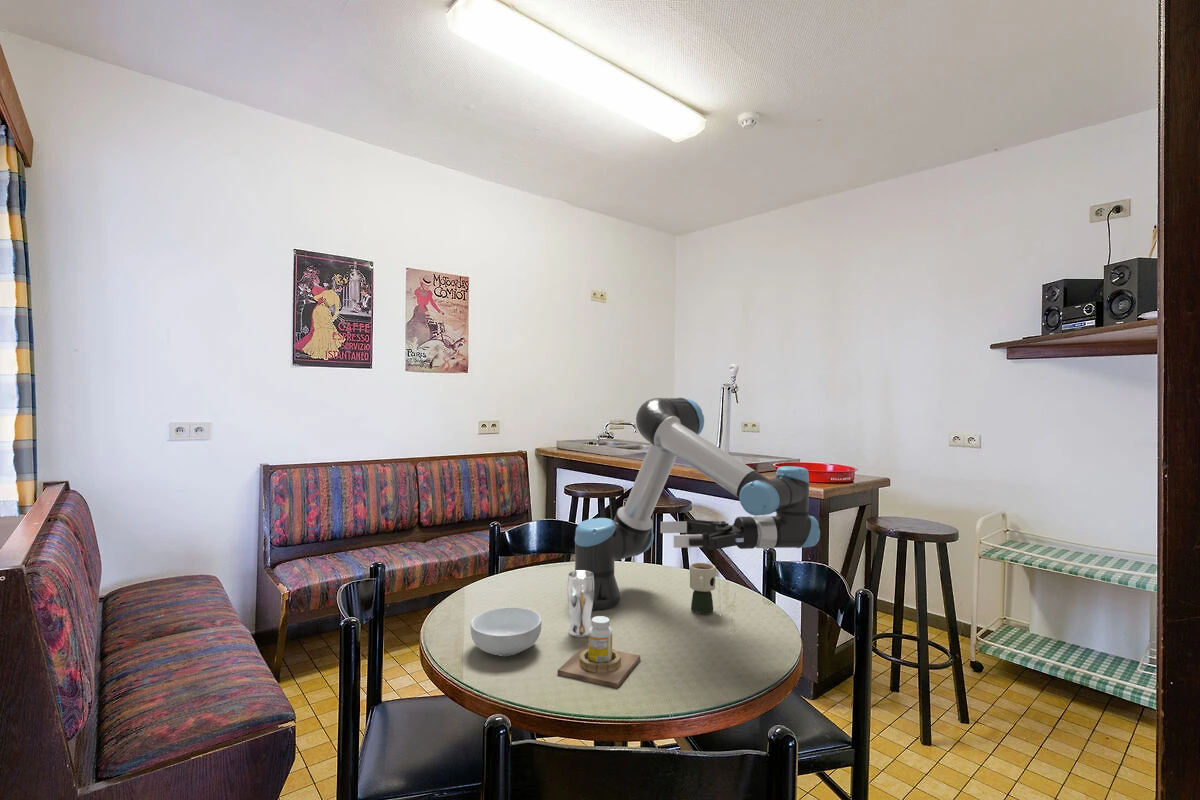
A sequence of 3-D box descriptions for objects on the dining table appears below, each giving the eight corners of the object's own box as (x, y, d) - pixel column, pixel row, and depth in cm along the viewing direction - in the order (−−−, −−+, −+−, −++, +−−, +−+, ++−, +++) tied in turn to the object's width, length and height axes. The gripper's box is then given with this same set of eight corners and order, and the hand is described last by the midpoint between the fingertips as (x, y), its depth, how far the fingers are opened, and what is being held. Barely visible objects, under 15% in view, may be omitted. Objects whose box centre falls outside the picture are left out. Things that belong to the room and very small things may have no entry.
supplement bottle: (601, 670, 124) (601, 626, 124) (583, 662, 127) (583, 619, 127) (616, 661, 128) (617, 618, 128) (598, 654, 131) (599, 612, 131)
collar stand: (557, 674, 124) (557, 663, 124) (584, 648, 137) (585, 638, 137) (617, 688, 118) (617, 676, 118) (640, 659, 131) (640, 649, 131)
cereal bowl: (464, 640, 141) (464, 612, 141) (529, 630, 147) (530, 602, 147) (478, 671, 125) (478, 639, 125) (550, 658, 132) (550, 627, 131)
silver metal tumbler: (573, 640, 141) (574, 579, 141) (562, 629, 147) (563, 572, 147) (598, 635, 144) (599, 575, 144) (586, 625, 151) (587, 568, 150)
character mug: (714, 620, 154) (714, 572, 154) (687, 617, 156) (688, 570, 156) (715, 606, 165) (716, 561, 165) (691, 603, 167) (691, 559, 167)
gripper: (774, 563, 125) (680, 565, 123) (735, 535, 150) (655, 536, 147) (775, 528, 125) (680, 530, 122) (735, 506, 150) (656, 507, 147)
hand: (666, 534), depth 135 cm, fingers open, 13 cm apart
